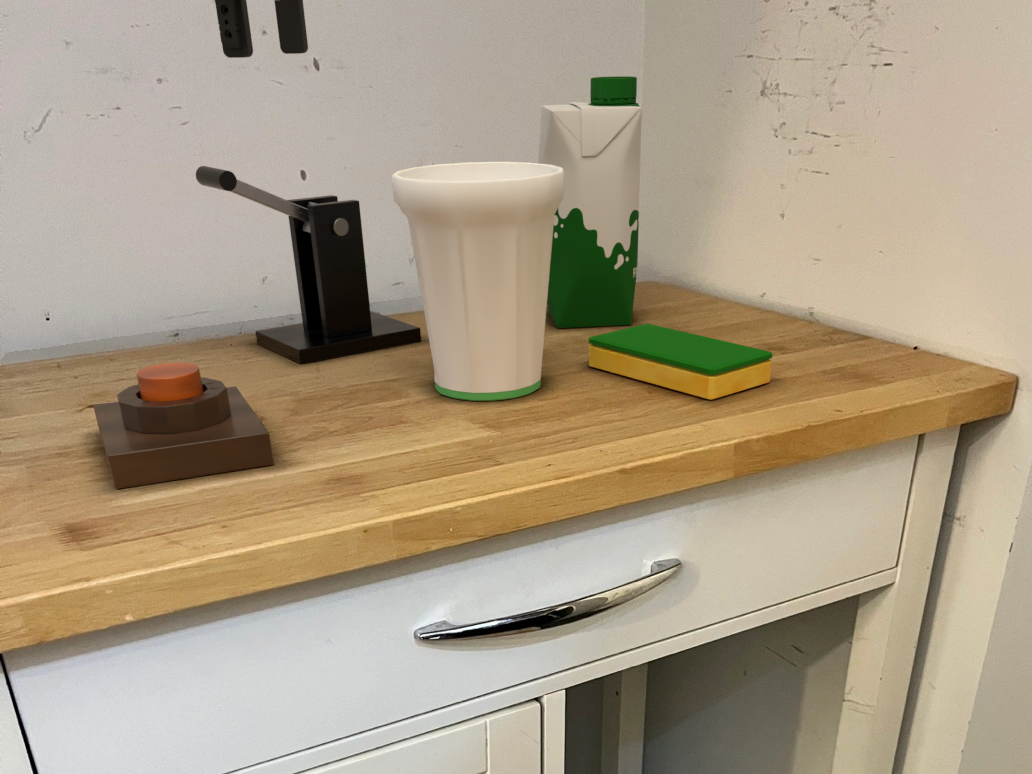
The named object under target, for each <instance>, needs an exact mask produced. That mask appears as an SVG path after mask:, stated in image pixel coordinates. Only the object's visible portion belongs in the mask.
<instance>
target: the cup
mask: <svg viewBox="0 0 1032 774" xmlns="http://www.w3.org/2000/svg"><path fill="white" fill-rule="evenodd" d="M390 178H391V185H392V194H393V202H394V203H395V204H396V205H397V206H398V207H399V209H400V211H401V213H402V214H403V215H404V216H405V217H406V218H407V221H408V228H409V233H410V239H411V244H412V250H413V256H414V262H415V268H416V273H417V279H418V284H419V291H420V297H421V303H422V307H423V313H424V318H425V319H424V320H425V324H426V330H427V336H428V342H429V347H430V354H431V358H432V365H433V370H434V377H433V378H434V387H435V388H434V389H435V390H436V391H437V392H438V393H439V394H440V395H442V396H444V397H447V398H451V399H455V400H463V401H471V402H492V401H493V402H495V401H503V400H504V401H505V400H511V399H512V400H513V399H517V398H520V397H521V398H522V397H524V396H527V395H530V394H532V393H534V392H536V391H538V389H540V388H541V385H542V381H541V380H542V379H541V378H542V366H543V354H544V341H545V330H546V321H547V319H546V318H547V309H548V306H547V296H548V285H549V273H550V261H551V250H552V238H553V226H554V214H555V213H556V211H557V209H558V207H559V205H560V203H561V201H562V199H563V182H564V169H563V168H561V167H558V166H554V165H550V164H539V163H538V162H527V161H525V162H524V161H469V162H453V163H452V162H451V163H438V164H429V165H422V166H413V167H409V168H405V169H400V170H397V171H395V172H394V173H393V174H392V175H391V177H390Z"/></svg>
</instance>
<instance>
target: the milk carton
mask: <svg viewBox="0 0 1032 774" xmlns="http://www.w3.org/2000/svg"><path fill="white" fill-rule="evenodd" d="M637 88H638V78H637V76H596V77H591V78H590V102H582V101H580V102H579V101H572V102H568V104H542V105H541V109H540V110H541V111H540V128H539V144H538V162H537V163H539V164H550V165H554V166H558V167H561V168H563V169H564V182H563V199H562V201H561V203H560V205H559V207H558V209H557V211H556V213H555V214H554V226H553V238H552V250H551V261H550V273H549V285H548V296H547V312H548V313H549V316H550V317H551V320H552V321H553V323H554V325H555V327H556V329H569V328H570V329H572V328H573V329H574V328H592V327H593V328H594V327H611V326H612V327H614V326H615V327H616V326H632V324H633V314H634V313H633V312H634V303H635V293H636V284H637V274H638V262H639V261H638V257H639V230H640V229H639V225H640V223H639V222H640V190H641V188H640V186H641V149H642V148H641V146H642V145H641V144H642V119H643V118H642V117H643V116H642V114H643V109H642V107H641V106H640V105H639V103H638V102H637V91H638V89H637Z"/></svg>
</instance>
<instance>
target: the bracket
mask: <svg viewBox="0 0 1032 774" xmlns="http://www.w3.org/2000/svg"><path fill="white" fill-rule="evenodd" d="M286 200H287V201H290V202H292V203H295V204H297V205H299V206H302V207H304V208H308V215H309V223H310V231H311V234H309V233H307V232H304V231H302V228H303V224H304V222H303V221H301V220H299V219H296V218H294V217H291V216H289V215H287V217H288V223H289V230H290V238H291V245H292V253H293V260H294V267H295V276H296V283H297V284H296V285H297V290H298V291H297V292H298V298H299V307H300V313H301V321H302V322H300V323H293V324H288V325H282V326H276V327H270V328H264V329H260V330H255V331H254V332H255V338H256V345H258V346H260V347H263V348H264V349H267V350H269V351H271V352H273V353H275V354H277V355H280V356H282V357H284V358H287V359H288V360H291V361H294V362H296V363H297V364H300V365H305V364H309V363H312V362H313V363H314V362H320V361H324V360H330V359H335V358H340V357H346V356H350V355H356V354H361V353H366V352H372V351H377V350H383V349H388V348H393V347H398V346H404V345H409V344H413V343H419V342H422V335H421V334H422V333H421V327H420V326H416V325H413V324H410V323H407V322H405V321H401V320H399V319H396V318H392V317H390V316H387V315H384V314H381V313H379V312H376V311H372V310H371V307H370V306H371V305H370V295H369V285H368V275H367V266H366V257H365V246H364V236H363V227H362V217H361V216H362V215H361V206H360V200H357V199H346V200H338V196H337V195H334V194H331V195H321V196H313V197H303V198H294V199H293V198H292V199H286ZM309 202H312V203H317V204H311V205H308V204H309Z"/></svg>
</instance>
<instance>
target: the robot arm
mask: <svg viewBox="0 0 1032 774" xmlns="http://www.w3.org/2000/svg"><path fill="white" fill-rule="evenodd" d="M273 2H274V8H275V16H276V25H277V33H278V41H279V48H280V50H281V52H282V53H283V54H286V55H289V54H291V55H292V54H293V55H295V54H296V55H297V54H306V53H307V52H308V50H309V44H308V35H307V27H306V16H305V6H304V0H274V1H273ZM214 3H215V4H214V5H215V10H216V16H217V17H216V18H217V24H218V29H219V36H220V43H221V46H222V47H221V48H222V52H223V54H224V55H225V57H227V58H229V59H235V58H236V59H239V58H242V59H243V58H250V57H252V56H253V53H254V47H253V40H252V31H251V25H250V24H251V23H250V18H249V11H248V3H247V0H214Z"/></svg>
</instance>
